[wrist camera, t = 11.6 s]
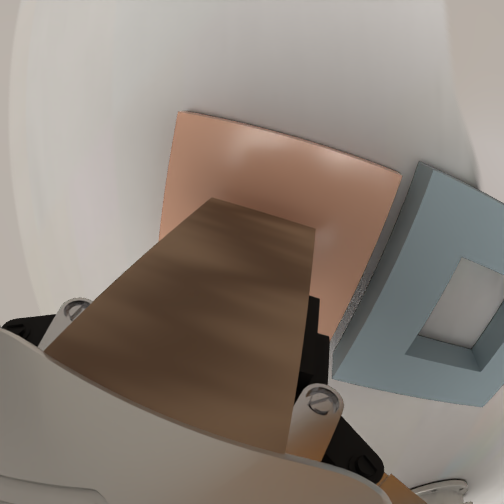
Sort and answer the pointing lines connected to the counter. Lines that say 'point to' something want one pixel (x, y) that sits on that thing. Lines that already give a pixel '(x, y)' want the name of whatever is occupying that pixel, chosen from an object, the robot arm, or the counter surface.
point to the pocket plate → (427, 298)
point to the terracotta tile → (285, 195)
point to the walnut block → (205, 325)
